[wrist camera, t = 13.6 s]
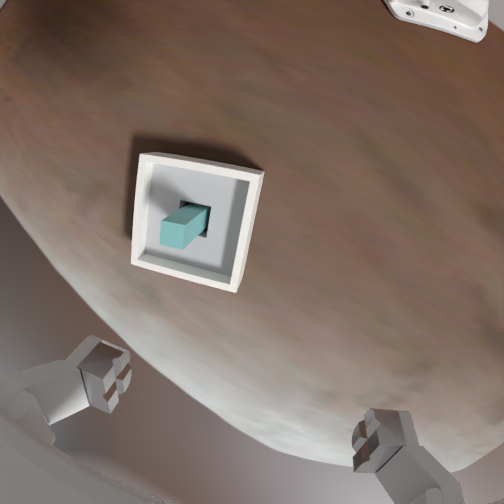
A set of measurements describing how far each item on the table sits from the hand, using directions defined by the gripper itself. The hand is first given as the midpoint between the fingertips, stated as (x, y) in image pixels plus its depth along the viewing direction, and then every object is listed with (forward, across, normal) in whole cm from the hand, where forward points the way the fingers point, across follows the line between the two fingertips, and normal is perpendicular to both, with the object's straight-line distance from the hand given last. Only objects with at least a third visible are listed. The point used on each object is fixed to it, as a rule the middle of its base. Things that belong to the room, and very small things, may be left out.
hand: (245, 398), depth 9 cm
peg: (+34, +12, +5) cm, 37 cm away
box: (+34, +12, +5) cm, 36 cm away
